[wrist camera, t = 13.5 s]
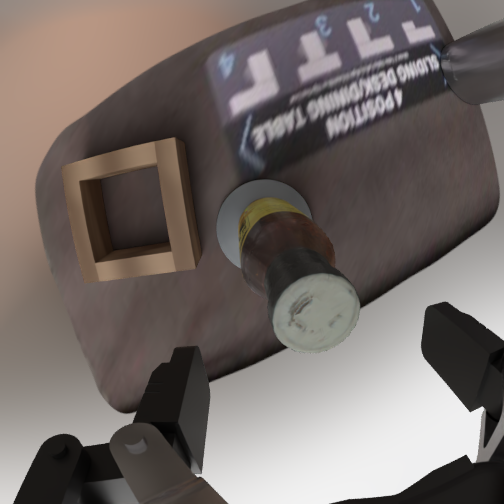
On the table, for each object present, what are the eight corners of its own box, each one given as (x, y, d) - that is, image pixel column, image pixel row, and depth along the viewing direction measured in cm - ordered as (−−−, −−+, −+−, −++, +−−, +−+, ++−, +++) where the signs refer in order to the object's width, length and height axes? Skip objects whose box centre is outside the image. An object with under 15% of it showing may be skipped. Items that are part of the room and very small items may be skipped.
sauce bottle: (228, 209, 31) (211, 265, 12) (286, 186, 31) (359, 207, 12) (252, 266, 33) (269, 388, 14) (307, 245, 32) (391, 339, 13)
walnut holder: (184, 142, 30) (174, 137, 25) (201, 254, 33) (195, 268, 28) (83, 166, 30) (61, 166, 25) (103, 268, 33) (84, 283, 28)
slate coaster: (306, 174, 31) (307, 174, 31) (315, 265, 34) (316, 267, 33) (210, 186, 31) (209, 186, 31) (224, 278, 34) (224, 280, 33)
